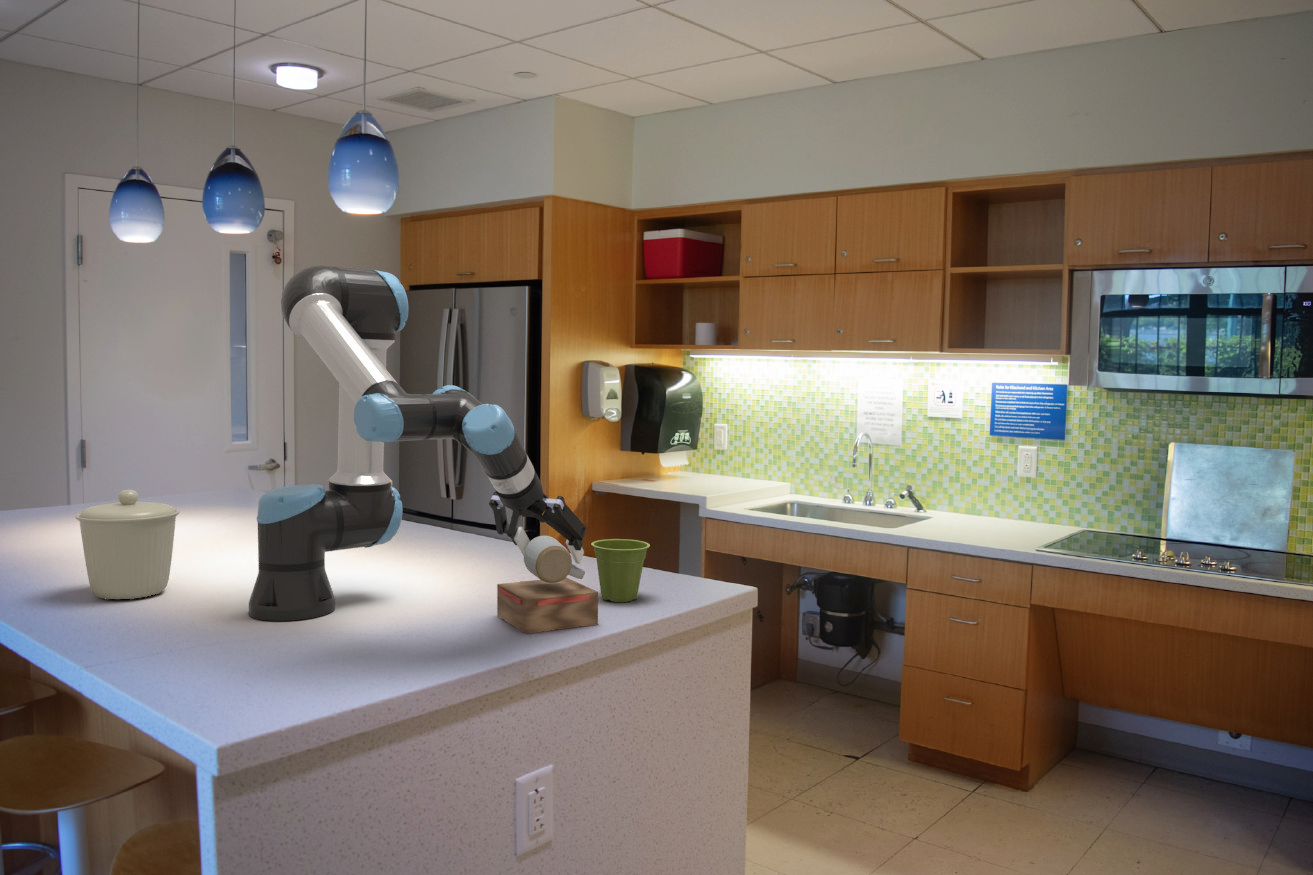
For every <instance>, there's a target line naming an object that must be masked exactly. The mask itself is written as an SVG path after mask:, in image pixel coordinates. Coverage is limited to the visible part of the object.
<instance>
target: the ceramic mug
mask: <svg viewBox="0 0 1313 875" xmlns="http://www.w3.org/2000/svg"><path fill="white" fill-rule="evenodd" d="M523 562H524V563H523V564H524V565H525V568H526V569H527V571H528V572H530V573H531V574H532V575H533V576H535V577H537V578H538V580H542V581H544V582H547V583H556V582H560V581H562V580H563V579H565V578H566V577H567V578H568V576H571V577H572V578H576V579H578V580H582V579H584V576H585V573H586V571H585V570H584V569H583V568H581V567H579V566H577V565H576V564H574V563H573V560H572V555H571V552H570V551H569V549H568V548H566V546H564V545H563V544H562V543H560V541H559V540H557V539H556V538H554V537H552V536H550V535H538V536H536V537H534V538H533V539H530V542H529V543H528V545H527V546H526V548H525V551H524V556H523Z"/></svg>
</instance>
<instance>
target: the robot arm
mask: <svg viewBox="0 0 1313 875" xmlns="http://www.w3.org/2000/svg"><path fill="white" fill-rule="evenodd" d="M280 307H281V314H282V316H283V319H284V321H285V322H286V324H287V326H288V328H289V329H290V331H292V333H293V334H294V335H295V336H296V337H298V338H299V339H301V340H305V341H307V343H308V344H309V346H310V347H311V348H312V349H313V351H314V352H315V354H317V355H318V357H319V358H320V360H321V361H322V363H324V365H325V366H326V367H327V369H328V370H329V372H330V373H331V375H333V376H334V378H335V379H336V381H337V382H338V383H339V384H338V391H339V392H338V425H337V426H338V431H337V432H338V434H337V438H338V439H337V470H336V471H335V473H333V475H331V476H330V477H329V479H328V490H325V487H324V486H323V485H321V484H317V483H306V484H294V485H288V486H283V487H278V488H274V489H272V490H269V491H266V492H265V493H263V494H262V495H261V496H260V497H259V499H258V505H257V506H258V508H257V515H256V521H257V549H258V551H257V552H258V554H257V556H258V572H257V576H256V580H255V583H254V586H253V589H252V592H251V594H250V598H249V601H248V616H250V617H251V618H254V619H258V620H263V621H273V622H275V621H277V622H284V621H286V622H288V621H289V622H290V621H301V620H306V619H312V618H313V619H314V618H317V617H323V616H325V615H328V614H330V613H332V612H333V611H335V609H336V606H335V605H336V601H335V600H336V598H335V595H334V591H333V588H332V585H331V583H330V580H329V577H328V574H327V572H326V564H325V562H326V561H325V560H326V559H325V557H326V555H325V554H326V553H327V552H335V551H336V552H337V551H343V550H350V549H358V548H371V547H374V546H378V545H383V544H386V543H388V542H390V541H391V540H392V539H393V537H394V536H396V535H397V533H398V531H399V529H400V526H401V523H402V519H403V510H404V509H403V502H402V500H401V494H400V493H399V491H398V490H397V489H396V488H395V487H394V486H393V485H392V486H391V480H392V479H391V478H390V477H389V476H388V475H387V474H386V473H385V472H384V460H385V459H384V454H385V451H384V448H385V443H386V444H387V443H393V442H407V441H408V442H410V441H426V440H427V441H429V440H449V439H450V440H455V441H457V443H459V444H460V445H461V446H463V447H464V448H465V449H466V450H467V451H468V452H470V453H472V454H473V455H474V456H475V459H477V461H478V462H479V464H480V465H481V467H482V469H483V471H484V472H485V474H486V476H487V478H488V480H489V481H490V484H491V485H492V487H493V489H494V490H495V491H494V492H493V493H492V496H491V498H490V500H489V502H488V505H489V506H490V508H491V509H492V512H493V517H494V522H495V523H494V524H495V528H496V533H497V534H498V535H501V536H502V535H504V534H505V535H507V537H509V538H510V539H511V541H512V543H513V544H514V545H515V546H517V547H518V549H519V550H520V552H521V554H522V556H523V557H524V551H525V548H526V546H527V545H528V543H529V542H530V541H531V539H529V537H528V535H527V533H526V531H525V529H524V528H523V526H519V522H520V520H521V516H522V517H523V518H528V517H529V518H535V519H537V520H538V521H539V522H540V523H545V524H546V525H548V526H550V528H551V529H553V530H554V531H556V532H557V533H559V535H561V536H562V537H563V538H565V539H566V541H565V545H566V547H567V549H568V551H569V553H570V555H571V557H572V558H573V561H574V563H575V565H576V564H578V565H580V564H581V562H582V559H583V556H584V554H585V550H584V549H583V545H584V542H583V540H584V537H585V534H586V532H587V527H586V526H585V524H584V523H583V522H582V521H581V520H580V519H579V518H578V517H579V516H577V514H575V513H574V511H572V509H571V508H570V507H569V506H568V505H567V504H566V503H567V502H566V501H565V498H564V497H563V496H561V495H557V497H556V499H555V498H549V496H548V495H547V494H545V493H544V490H543V485H542V482H541V479H540V477H539V476H538V474H537V472H536V470H535V468H534V465H533V463H532V461H531V460H530V458H529V455H528V453H527V452H526V450H525V448H524V446H523V444H522V442H521V439H520V438H519V436H518V433H517V432H516V430H515V426H514V424H513V421H512V420H511V418H510V417H509V416H508V415H507V413H506V411H505V410H504V409H503V408H502V407H501V406H500V405H498V404H489V403H482V402H481V401H480V400H479V399H477V398H476V397H475V396H474V395H473V394H471V393H470V392H468V391H466V390H465V389H462V388H461V387H459V386H456V385H453V384H448V385H444V386H442V387H441V388H439V389H436V390H435V391H434V392H432V393H429V394H428V393H427V394H426V393H421V394H420V393H416V394H415V393H412V394H410V393H407V392H406V391H405V390H404V389H403V387H401V386H400V384H399V383H398V382H397V380H396V379H395V378H394V377H393V376H392V375H391V373H390V372H389V371H388V370H387V350H388V348H390V347H391V346H392V345H393V344H394V343H395V342H396V340H395V339H396V333H399V332H401V331H402V330H403V329H404V327H405V326H406V322H407V321H408V319H409V318H408V317H409V301H408V295H407V292H406V290H405V287H404V286H403V284H401V281H400V280H399V279H398V277H397V276H395V275H394V274H393V273H390V272H388V271H387V272H386V271H381V270H376V269H372V268H371V269H368V268H367V269H366V268H354V267H343V266H332V265H325V264H324V265H323V264H319V265H317V264H316V265H311V266H309V267H305V268H303V269H301V270H299V271H298V272H296V273H294V274H293V275H292V277H291V278H289V280H288V281H287V283H286V284H285V286H284V288H283V290H282V293H281V298H280ZM507 508H508V509H509V510H511V511H512V514H511V517H510V523H508V522H509V521H508V517H507V516H508V514H507V510H506V509H507Z"/></svg>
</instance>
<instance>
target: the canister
mask: <svg viewBox="0 0 1313 875" xmlns="http://www.w3.org/2000/svg"><path fill="white" fill-rule="evenodd" d="M117 497H118V502H113V503H112V502H111V503H104V504H98V505H92V506H90V507H87V508H84V509H83V510H82V511H81V512H79V513H76V515H75V519H76V520H77V521H79V528H80V534H81V540H82V548H83V555H84V562H85V567H86V572H87V579H88V584H89V587H90V589H91V592H92V593H93V595H95V596H96V597H97V598H99V597H101V598H100V599H102V598H106V599H105V600H108V599H130V600H133V599H132V598H139V599H142V598H141V597H145V598H148V597H147V596H149V597H152V596H151V595H153V596H156V595H158V594H161V593H162V592H163V591H164V590H165V589H166V587H167V586H168V583H169V579H170V574H171V566H172V557H173V549H174V540H175V538H174V537H175V529H176V518H177V516H178V515H179V514H180V510H179V509H177V508H174V506H172V505H170V504H168V503H162V502H154V501H138V500H139V494H138V492H137V491H136V490H135V489H123V490H121V491H120V492H119V493H118V495H117ZM155 594H156V595H155Z"/></svg>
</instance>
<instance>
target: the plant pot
mask: <svg viewBox="0 0 1313 875" xmlns="http://www.w3.org/2000/svg"><path fill="white" fill-rule="evenodd" d="M590 544H591V546H592V547H593V550H594V556H595V560H596V565H597V574H598V580H599V588H600V595H601V599H603V600H604V601H611V602H613V603H629V602H632V601H633V600H637V598H638V593H639V588H640V584H641V577H642V572H643V567H644V562H645V560H646V558H647V553H648V552H647V551H648V549H649V548H650V546H651V545H650V543H648V542H646V541H642V540H638V539H628V538H627V539H624V538H623V539H622V538H621V539H620V538H612V539H611V538H610V539H600V540H595V541H593V542H591V543H590ZM628 601H629V602H628Z"/></svg>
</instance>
